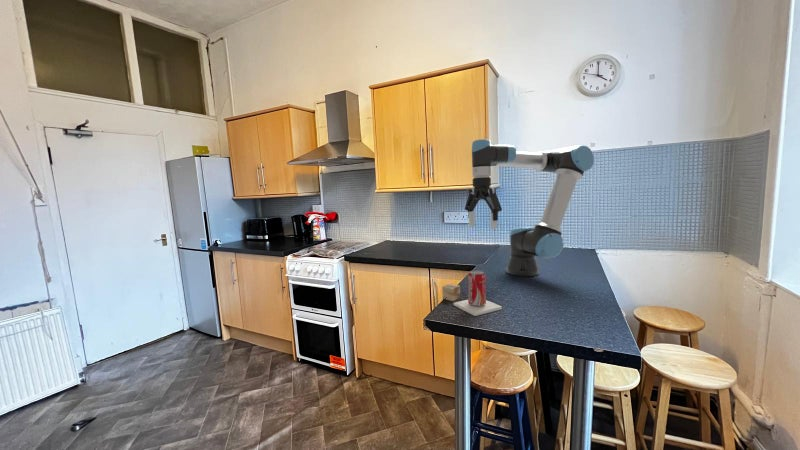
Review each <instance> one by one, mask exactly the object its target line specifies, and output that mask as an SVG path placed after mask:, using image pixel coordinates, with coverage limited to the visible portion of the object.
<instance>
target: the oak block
mask: <svg viewBox="0 0 800 450" xmlns="http://www.w3.org/2000/svg"><path fill="white" fill-rule="evenodd" d="M441 288H442V299H443V300H447V301H451V302H455V301H457V300H459V299H461V285H458V284H453V283H447V284H445V285H443V286H442V287H441ZM446 297H447V298H446ZM445 298H446V299H445Z"/></svg>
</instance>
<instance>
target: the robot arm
mask: <svg viewBox="0 0 800 450" xmlns="http://www.w3.org/2000/svg"><path fill="white" fill-rule="evenodd" d="M471 160H472V161H471V163H472V164H471V165H472V166H471V167H472V169H471V170H472V171H471V172H472V173H471V174H472V177H473V178H472V187H473V188H470V189H469V190H468V196H467V200H466V203H465V206H464V210H465V211H467V214H468V215H467V216H468V226H469V227H475V226H476V214H475V213H476V212H475V208H476V206H477V204H478V203H479V201H480V200H483V201H485V203H486V204H487V206H488V207H489V209H490V229H492V230H494V229H498V220H499V212H502V210H503V208H502V206H501V203H500V200H499V198H498V195H497V190H496V188H495V187H493V188H492V187H491V186H492V177H491V176H492V167H505V168H520V169H534V170H535V171H537V172H547V173H555V174H556V178H555V181H554V184H553V186H552V189H551V192H550V195H549V197H548V200H547V203H546V206H545V208H544V211H543V214H542V217H541V220H540V221H539V223H537V224H535V226H528V227H515V228H511V230H510V234H509V239H510V241H509V242H510V243H509V245H510V246H509V247H510V249H509V250H510V257H509V260H508V264H507V266H506V272H507V274H509V275H513V276H519V277H532V276H538V275H539V274H540V270H539V267H538V264H537V260H536V257H539V258H541V259H553V258H555V257H558V256H559V255H560V254H561V252H562V250H563V248H564V246H565V243H564V239H563V236H562V233H563V232H562V231H561V225H562V222H563V220H564V218H565V214H566V212H567V210H568V207H569V205H570V201H571V198H572V195H573V193H574V191H575V188H576V185H577V182H578V180H581V179H582V178H583V175H584V173H585V172H587V171H589V170H590V169H592V168H593V166H594V162H595V157H594V154H593V151H592V150H591V148H590V147H589V146H587V145H583V144H581V145H573V146H568V147H561V148H557V149H553V150H545V151H544V150H542V151H540V150H539V151H538V152H531V151H530V152H528V151H517V148H516V147H515V146H514V145H513V144H512V145H511V144H492V143H491V140H490V139H486V138H480V139H476V140H473V142H472V143H471Z"/></svg>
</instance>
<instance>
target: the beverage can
mask: <svg viewBox="0 0 800 450" xmlns="http://www.w3.org/2000/svg"><path fill="white" fill-rule="evenodd" d="M467 297H468V298H467V300H468V303H469V304H471V305H472V306H483V305H484V304H486V300H487V276H486V274H485V272H484V271H483V270H479V269H478V270H476V269H474V270H471V271H469V273H468V276H467Z"/></svg>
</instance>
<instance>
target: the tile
mask: <svg viewBox="0 0 800 450" xmlns="http://www.w3.org/2000/svg"><path fill="white" fill-rule="evenodd" d="M453 306H454V307H457V308H458V309H460V310H462V311H464V312H466V313H468V314H470V315H471V316H474V317H476V316H480V315H484V314H488V313H492V312H497V311H500V310H502V308H503V306H502V305H499V304H498V303H494V302H493V301H492V302H491V301H490V300H487V299H486V304H484V305H483V306H472V305H471V304H469V303H468V299H465V300H461V301H456V302H455V301H454V302H453Z"/></svg>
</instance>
